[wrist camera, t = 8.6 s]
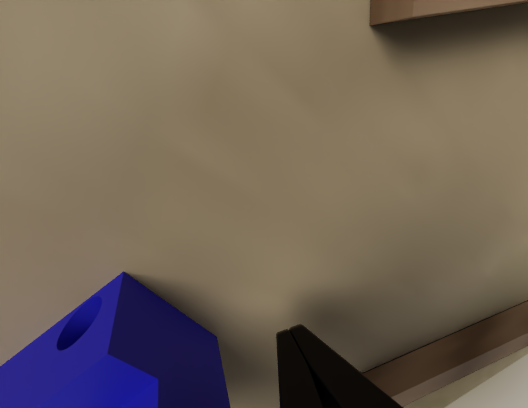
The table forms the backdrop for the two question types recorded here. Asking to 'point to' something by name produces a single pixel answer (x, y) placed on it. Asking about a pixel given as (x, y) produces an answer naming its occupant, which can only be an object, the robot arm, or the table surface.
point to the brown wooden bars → (471, 338)
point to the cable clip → (118, 357)
